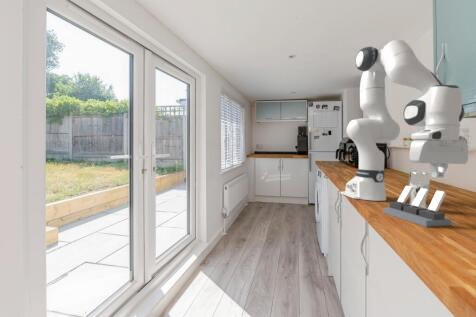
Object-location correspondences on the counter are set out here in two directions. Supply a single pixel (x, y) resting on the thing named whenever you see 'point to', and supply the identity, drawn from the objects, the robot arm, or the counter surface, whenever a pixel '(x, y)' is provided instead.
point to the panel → (417, 215)
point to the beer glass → (418, 185)
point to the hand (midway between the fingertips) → (437, 177)
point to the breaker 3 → (436, 201)
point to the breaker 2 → (420, 197)
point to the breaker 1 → (405, 194)
